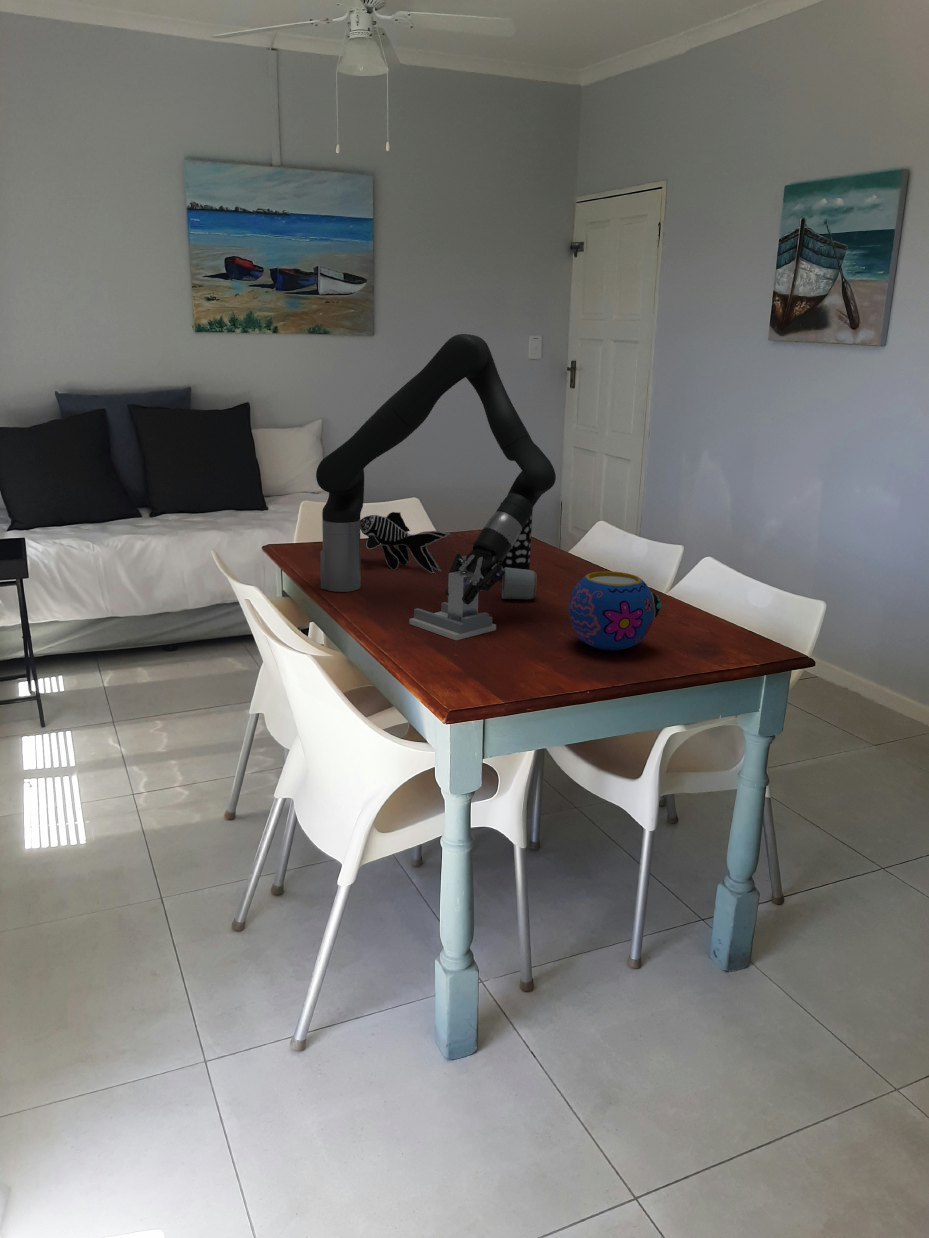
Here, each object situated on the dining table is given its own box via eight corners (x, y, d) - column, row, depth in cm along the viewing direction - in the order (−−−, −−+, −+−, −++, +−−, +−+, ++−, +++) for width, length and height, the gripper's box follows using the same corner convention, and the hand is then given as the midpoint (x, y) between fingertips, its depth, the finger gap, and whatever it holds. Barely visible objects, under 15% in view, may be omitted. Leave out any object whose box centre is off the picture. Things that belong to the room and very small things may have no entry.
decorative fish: (368, 545, 276) (377, 494, 270) (449, 575, 267) (461, 524, 261) (338, 555, 262) (348, 502, 256) (423, 588, 253) (435, 534, 248)
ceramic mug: (536, 603, 234) (538, 572, 231) (503, 602, 233) (504, 571, 231) (531, 592, 244) (533, 562, 242) (499, 591, 243) (500, 561, 241)
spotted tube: (492, 580, 253) (496, 504, 247) (503, 573, 260) (507, 500, 255) (523, 584, 250) (526, 507, 244) (533, 577, 257) (537, 503, 252)
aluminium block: (447, 617, 210) (448, 571, 207) (462, 614, 213) (464, 568, 210) (462, 622, 207) (463, 575, 204) (477, 618, 210) (479, 572, 207)
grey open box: (409, 624, 214) (409, 605, 213) (449, 614, 222) (449, 596, 221) (456, 640, 203) (456, 621, 202) (496, 629, 211) (496, 611, 210)
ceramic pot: (669, 652, 200) (676, 582, 196) (602, 665, 191) (608, 592, 187) (613, 630, 214) (618, 564, 210) (549, 641, 205) (553, 572, 201)
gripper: (466, 521, 214) (425, 582, 210) (513, 532, 205) (471, 596, 200) (483, 541, 220) (442, 602, 215) (529, 553, 210) (488, 616, 205)
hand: (456, 599), depth 208 cm, fingers closed on aluminium block, 4 cm apart
